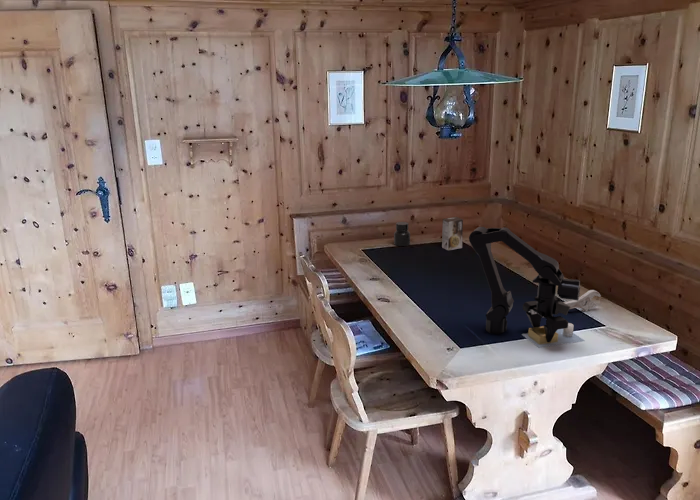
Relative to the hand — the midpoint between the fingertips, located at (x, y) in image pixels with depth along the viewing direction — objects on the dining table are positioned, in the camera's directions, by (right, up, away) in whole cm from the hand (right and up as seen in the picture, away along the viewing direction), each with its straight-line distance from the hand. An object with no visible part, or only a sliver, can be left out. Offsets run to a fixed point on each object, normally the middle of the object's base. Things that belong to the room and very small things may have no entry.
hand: (542, 337), depth 197 cm
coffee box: (-12, +31, +109) cm, 114 cm away
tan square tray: (0, 0, 0) cm, 0 cm away
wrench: (+16, +5, +24) cm, 29 cm away
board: (+4, -1, +1) cm, 4 cm away
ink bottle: (-38, +33, +118) cm, 128 cm away
